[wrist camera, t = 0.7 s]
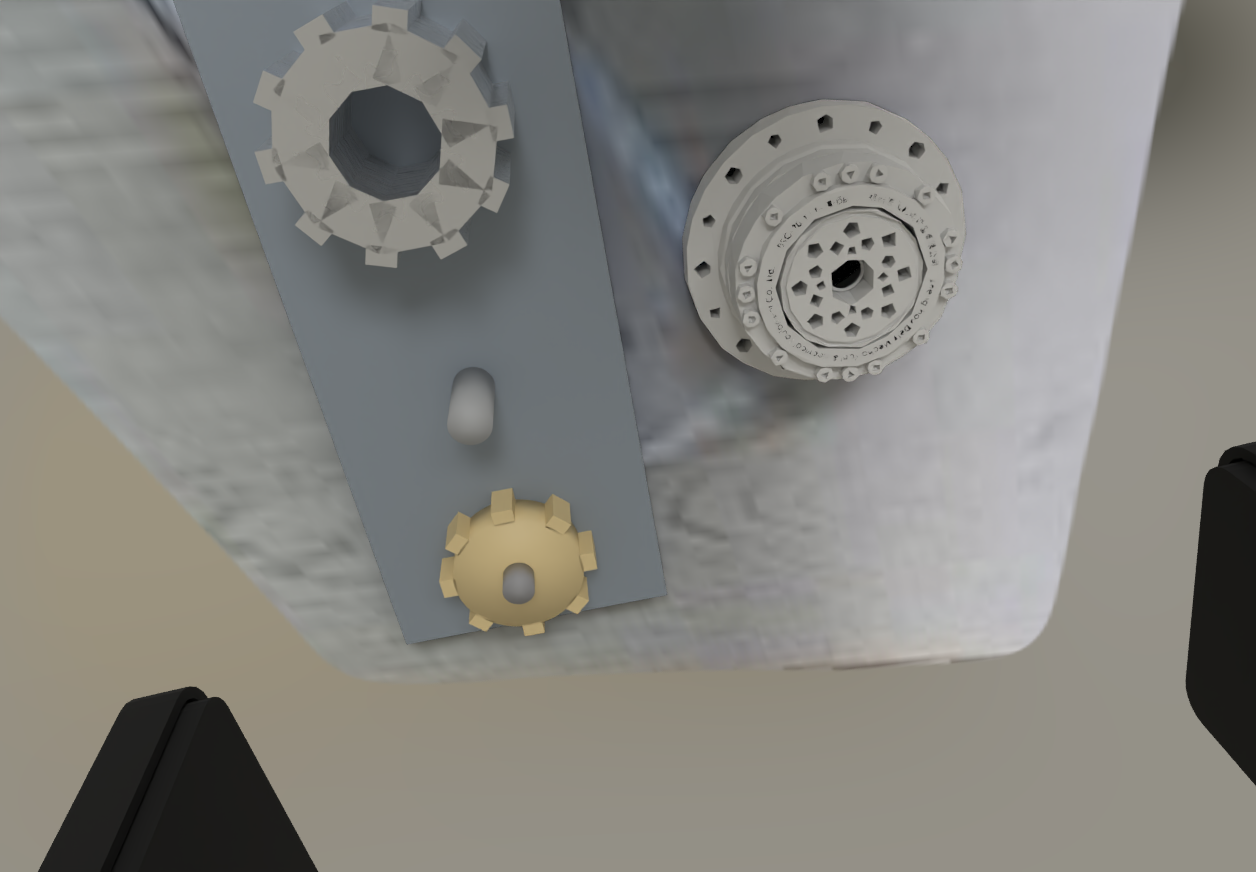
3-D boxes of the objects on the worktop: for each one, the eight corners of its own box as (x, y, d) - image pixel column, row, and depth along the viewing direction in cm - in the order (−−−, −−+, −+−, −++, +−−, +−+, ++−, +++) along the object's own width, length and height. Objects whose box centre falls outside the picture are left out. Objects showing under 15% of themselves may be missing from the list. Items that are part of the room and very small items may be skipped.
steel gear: (251, 18, 28) (213, 34, 25) (485, -26, 28) (480, -16, 25) (325, 243, 32) (301, 285, 28) (534, 204, 32) (536, 241, 28)
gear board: (186, -12, 29) (133, 2, 25) (544, -79, 29) (548, -76, 25) (410, 620, 41) (398, 696, 38) (662, 573, 41) (677, 643, 38)
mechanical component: (944, 345, 38) (958, 78, 33) (992, 395, 34) (1015, 101, 29) (692, 381, 38) (668, 118, 33) (711, 436, 34) (687, 147, 29)
